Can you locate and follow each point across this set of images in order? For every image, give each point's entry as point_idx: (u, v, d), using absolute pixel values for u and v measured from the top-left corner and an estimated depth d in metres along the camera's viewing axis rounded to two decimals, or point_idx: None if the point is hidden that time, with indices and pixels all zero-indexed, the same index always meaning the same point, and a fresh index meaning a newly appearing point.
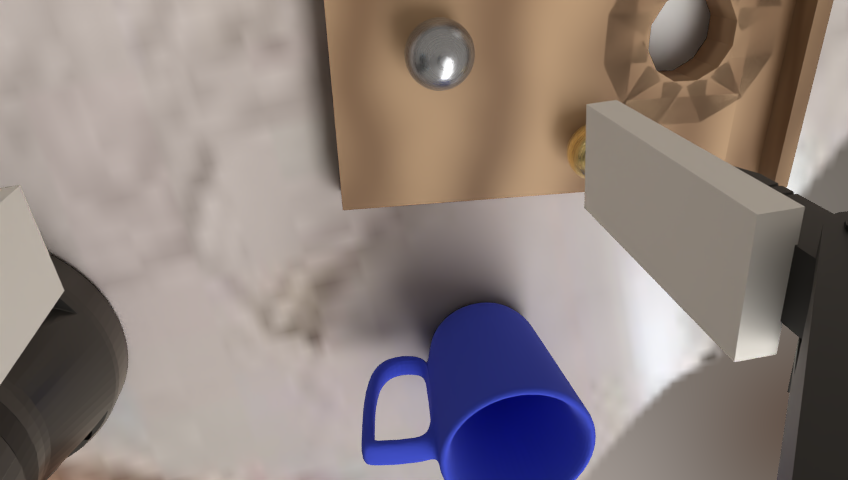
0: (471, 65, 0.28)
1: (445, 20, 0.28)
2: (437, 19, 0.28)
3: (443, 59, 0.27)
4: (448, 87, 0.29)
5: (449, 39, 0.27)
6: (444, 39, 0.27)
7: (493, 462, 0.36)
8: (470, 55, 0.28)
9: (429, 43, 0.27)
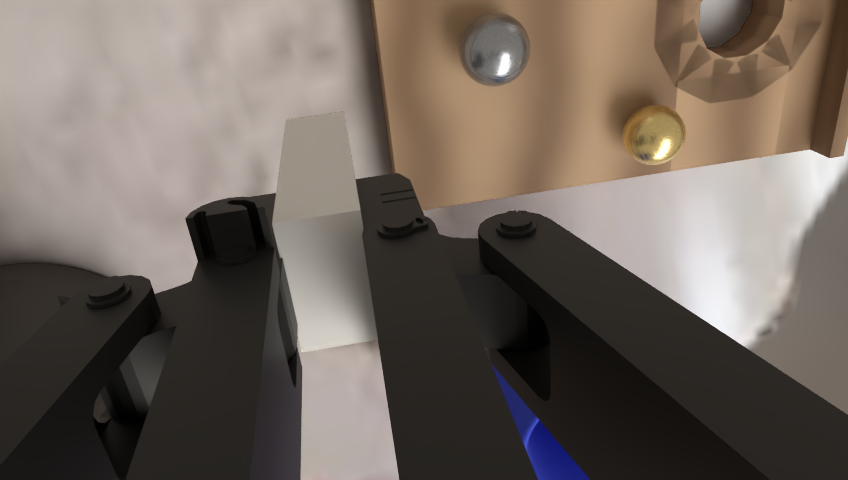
0: (528, 58, 0.28)
1: (499, 15, 0.27)
2: (491, 15, 0.28)
3: (501, 54, 0.27)
4: (506, 82, 0.28)
5: (506, 34, 0.27)
6: (501, 34, 0.27)
7: (566, 453, 0.36)
8: (526, 48, 0.28)
9: (486, 39, 0.27)
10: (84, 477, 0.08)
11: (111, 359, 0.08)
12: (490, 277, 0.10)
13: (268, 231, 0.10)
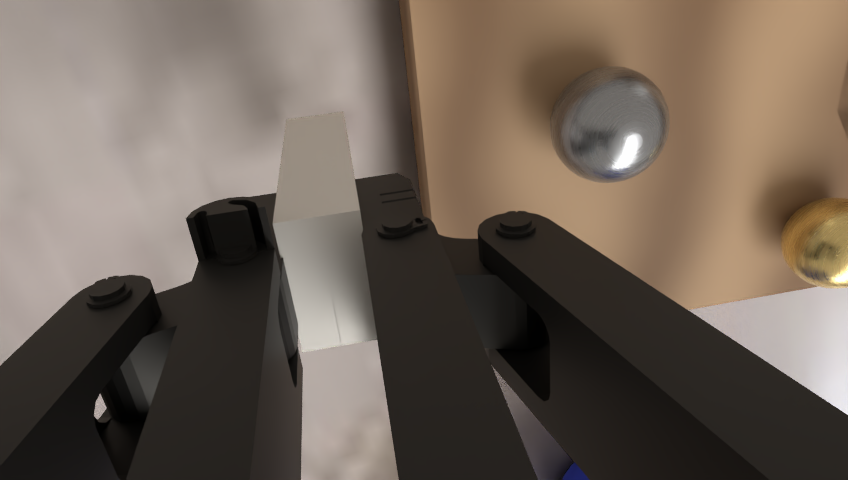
0: (665, 141, 0.17)
1: (624, 72, 0.17)
2: (610, 71, 0.17)
3: (631, 140, 0.16)
4: (628, 178, 0.17)
5: (639, 105, 0.16)
6: (631, 106, 0.16)
7: None
8: (667, 126, 0.17)
9: (606, 115, 0.16)
10: (85, 477, 0.08)
11: (112, 359, 0.08)
12: (490, 276, 0.10)
13: (269, 231, 0.10)
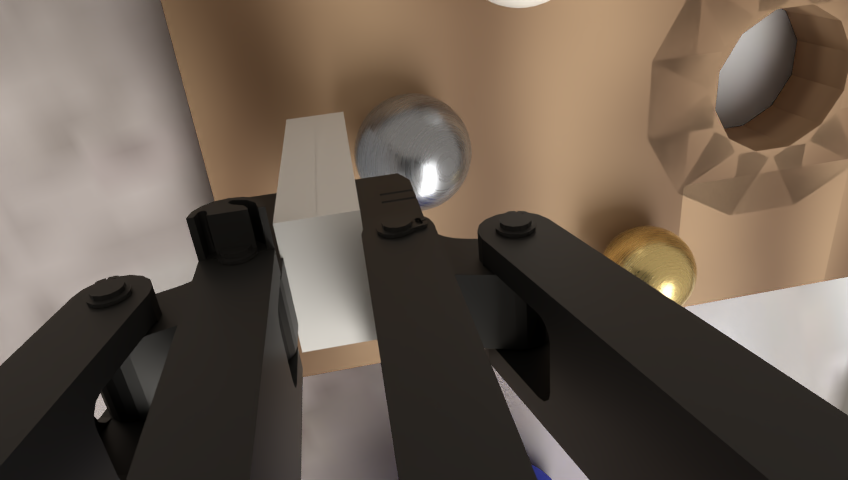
0: None
1: (422, 98, 0.16)
2: (409, 99, 0.16)
3: (445, 164, 0.16)
4: (443, 202, 0.17)
5: (446, 129, 0.16)
6: (439, 131, 0.16)
7: None
8: (470, 145, 0.17)
9: (418, 143, 0.16)
10: (85, 477, 0.08)
11: (112, 359, 0.08)
12: (490, 277, 0.10)
13: (269, 231, 0.10)
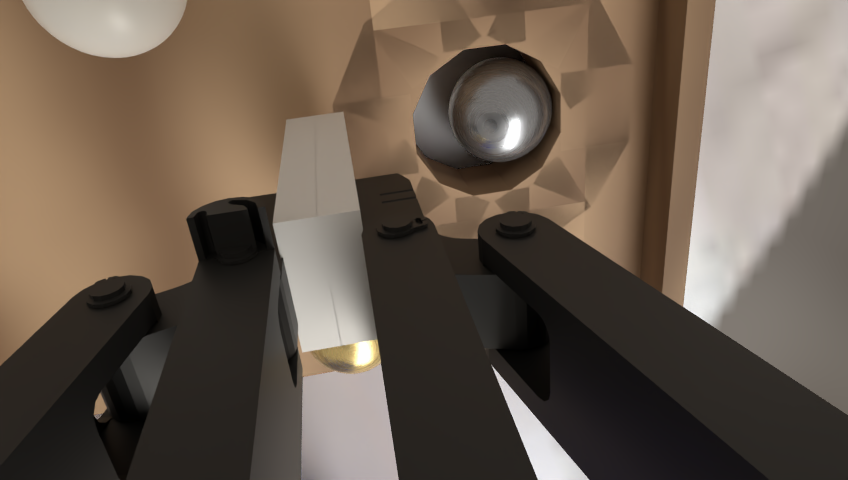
0: None
1: (492, 58, 0.19)
2: (502, 57, 0.19)
3: None
4: None
5: None
6: None
7: None
8: None
9: None
10: (84, 477, 0.08)
11: (111, 359, 0.08)
12: (490, 277, 0.10)
13: (269, 231, 0.10)
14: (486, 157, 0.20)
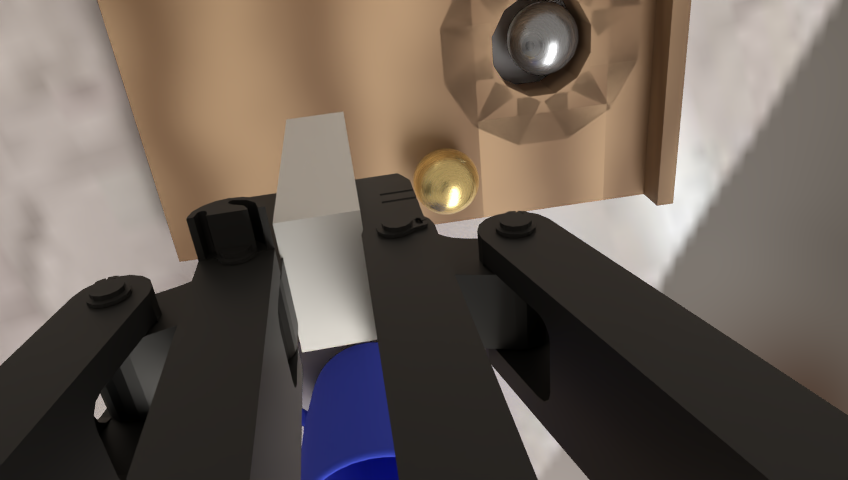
0: None
1: (540, 2, 0.29)
2: (546, 1, 0.28)
3: None
4: None
5: None
6: None
7: None
8: None
9: None
10: (85, 477, 0.08)
11: (112, 359, 0.08)
12: (490, 277, 0.10)
13: (269, 231, 0.10)
14: (528, 70, 0.29)
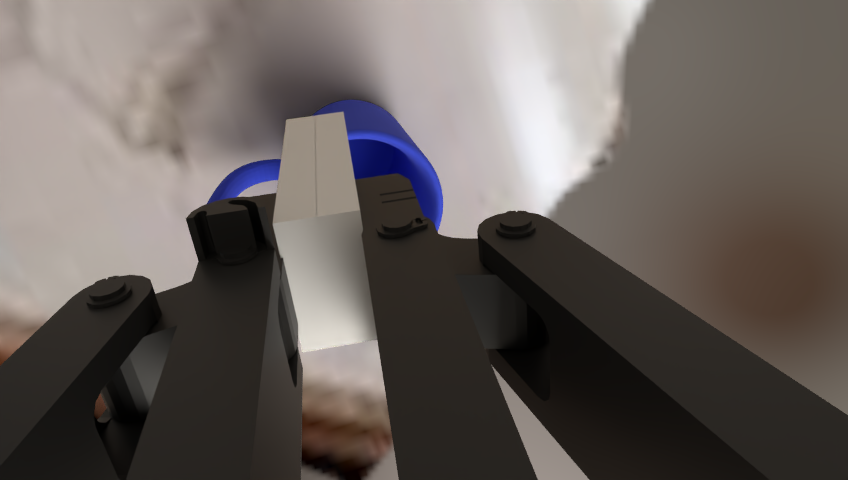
0: None
1: None
2: None
3: None
4: None
5: None
6: None
7: None
8: None
9: None
10: (85, 477, 0.08)
11: (112, 359, 0.08)
12: (490, 277, 0.10)
13: (269, 231, 0.10)
14: None
